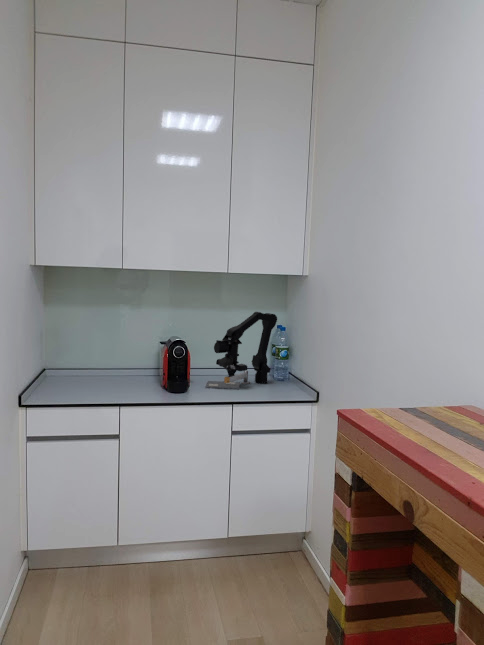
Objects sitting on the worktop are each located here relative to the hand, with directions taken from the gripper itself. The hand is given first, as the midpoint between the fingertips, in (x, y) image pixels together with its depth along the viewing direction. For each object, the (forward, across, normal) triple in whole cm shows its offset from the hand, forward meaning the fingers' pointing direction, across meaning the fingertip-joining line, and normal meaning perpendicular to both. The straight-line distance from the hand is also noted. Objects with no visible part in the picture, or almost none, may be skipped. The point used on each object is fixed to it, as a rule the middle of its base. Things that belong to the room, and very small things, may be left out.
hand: (230, 380), depth 272 cm
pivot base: (+3, +2, +10) cm, 11 cm away
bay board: (+3, -2, -3) cm, 5 cm away
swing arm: (+2, +2, +2) cm, 4 cm away
